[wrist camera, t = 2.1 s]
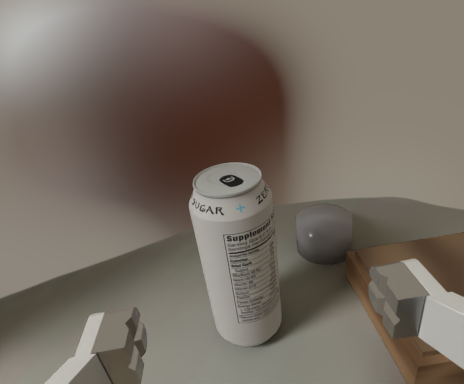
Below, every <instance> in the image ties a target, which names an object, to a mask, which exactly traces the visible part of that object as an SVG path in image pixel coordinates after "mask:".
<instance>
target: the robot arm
mask: <svg viewBox="0 0 464 384" xmlns="http://www.w3.org/2000/svg"><path fill="white" fill-rule="evenodd" d="M369 275H370V277H371V278H372V281H371V282H370V283H369V285H368V293H369V298H370V301H371V304H372V306H373V308H374V310H375V311H376V312H377V313H379V314H380V315H382V316H383V321H382V323H383V325H384V326H385V328H386V330H387V331H388V333H389V334H390V336H391V338H392V339H399V338H406V337H413V336H418V337H419V338H420V339H422V340H423V341H425V342H426V343H427V344H429V345H430V346H432V347H433V348H434V349H436V350H437V351H439V352H440V353H441V354H443V355H444V356H446V357H447V358H448V359H450V360H451V361H453V362H454V363H455V364H457V365H458V366H460V367H461V368H462V369H464V297H462V296H460V295H458V294H456V293H454V292H447V291H446V290H445V289H444V288H443V287H442V286H441V285H440V284H439V283H438V281H437V280H436V279H435V278H434V277H433V276H432V275H431V274H430V273H429V272H428V271H427V269H426V268H425V267H424V266H423V265H422V264H421V263H420V262H419V261H418V260H417V259H409V260H404V261H400V262H393V263H387V264H382V265H376V266H371V268H370V273H369ZM139 318H140V313H139V311H138V309H137V308H136V307H133V308H126V309H119V310H113V311H106V312H101V313H94V314H91V315H90V317H89V318H88V320H87V323H86V326H85V329H84V331H83V334H82V337H81V340H80V343H79V345H78V348H77V351H76V354H75V356H74V357H72V358H69V359H68V360H67V361H66V362H65V363H64V364H63V365H62V366H61V367H60V368H59V369H58V370H57V371H56V372H55V373H54V374H53V375H52V376H51V377H50V378H49V379H48V380H47V381H46V382H45V383H44V384H141V381H142V374H143V368H144V363H143V361H142V358H141V357H142V356H143V355H144V354H145V352H146V348H147V334H146V329H145V326H144V323H142V322H140V321H139Z"/></svg>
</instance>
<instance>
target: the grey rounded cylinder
mask: <svg viewBox="0 0 464 384" xmlns="http://www.w3.org/2000/svg"><path fill="white" fill-rule="evenodd" d="M296 232H297V249H298V252H299V253H300V255H301V256H302V257H304V258H305V259H306V260H308V261H311V262H313V263H317V264H336V263H339V262H341V261H343V260H345V259H346V253H347V251H351V248H352V232H353V217H352V215H351V213H350V212H349V211H347V210H346V209H344V208H342V207H340V206H337V205H333V204H314V205H310V206H307V207H305V208H303V209H301V210H300V211H299V212H298V214H297V216H296Z"/></svg>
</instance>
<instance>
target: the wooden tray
mask: <svg viewBox="0 0 464 384" xmlns="http://www.w3.org/2000/svg"><path fill="white" fill-rule="evenodd" d="M409 259H417V260H418V261H419V262H420V263H421V264H422V265H423V266H424V267H425V268H426V269H427V271H428V272H429V273H430V274H431V275H432V276H433V277H434V278H435V279H436V280H437V281H438V283H439V284H440V285H441V286H442V287H443V288H444V289H445V290H446V291H447V292H454V293H456V294H458V295H460V296H462V297H464V232H462V233H456V234H450V235H444V236H438V237H431V238H425V239H419V240H413V241H407V242H401V243H395V244H389V245H383V246H377V247H371V248H365V249H358V250H352V251H347V253H346V272H345V275H346V276H347V278H348V280H349V282H350V283H351V285H352V287H353V289H354V290H355V292H356V294H357V296H358V298H359V299H360V301H361V303H362V305H363V306H364V308H365V310H366V312H367V313H368V315H369V317H370V319H371V320H372V322H373V324H374V326H375V328H376V329H377V331H378V333H379V335H380V336H381V338H382V340H383V342H384V343H385V345H386V347H387V349H388V351H389V352H390V354H391V356H392V358H393V359H394V361H395V363H396V365H397V366H398V368H399V370H400V372H401V374H402V375H403V377H404V379H405V381H406V382H407V384H464V369H462V368H461V367H460V366H458V365H457V364H455V363H454V362H453V361H451V360H450V359H448V358H447V357H446V356H444V355H443V354H441V353H440V352H439V351H437V350H436V349H434V348H433V347H432V346H430V345H429V344H427V343H426V342H425V341H423V340H422V339H420V338H419V337H418V336H413V337H406V338H399V339H392V338H391V336H390V334H389V333H388V331H387V330H386V328H385V326H384V325H383V323H382V321H383V316H382V315H380V314H379V313H377V312H376V311H375V310H374V308H373V306H372V304H371V301H370V298H369V293H368V285H369V283H370V282H371V281H372V278H371V277H370V275H369V273H370V268H371V266H376V265H382V264H387V263H393V262H400V261H404V260H409Z"/></svg>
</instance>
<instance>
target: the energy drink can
mask: <svg viewBox="0 0 464 384" xmlns="http://www.w3.org/2000/svg"><path fill="white" fill-rule="evenodd" d="M193 187H194V190H193V193H192V196H191V199H190V201H189V210H190V215H191V219H192V224H193V228H194V232H195V237H196V241H197V246H198V250H199V254H200V259H201V263H202V268H203V272H204V276H205V281H206V285H207V290H208V294H209V298H210V303H211V307H212V312H213V316H214V320H215V325H216V328H217V330H218V332H219V333H220V335H221V336H222V337H223V338H224V339H226V340H228V341H229V342H231V343H234V344H236V345H238V346H243V347H253V346H258V345H260V344H263V343H264V342H266V341H267V340H268V339H269V338H271V337H272V336H273V335H274V334H275V333H276V331H277V330H278V329H279V326H280V324H281V320H282V311H281V299H280V286H279V274H278V261H277V248H276V236H275V223H274V211H273V198H272V192H271V190H270V188H269V187H268V186H267V184H266V183H265V182H264V180H263V179H262V173H261V171H260V169H258V168H257V167H256V166H254V165H251V164H247V163H238V162H232V163H224V164H219V165H215V166H212V167H209V168H207V169H205V170H203V171H201V172H200V173H199V174H197V175H196V177H195V178H194V180H193Z"/></svg>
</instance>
